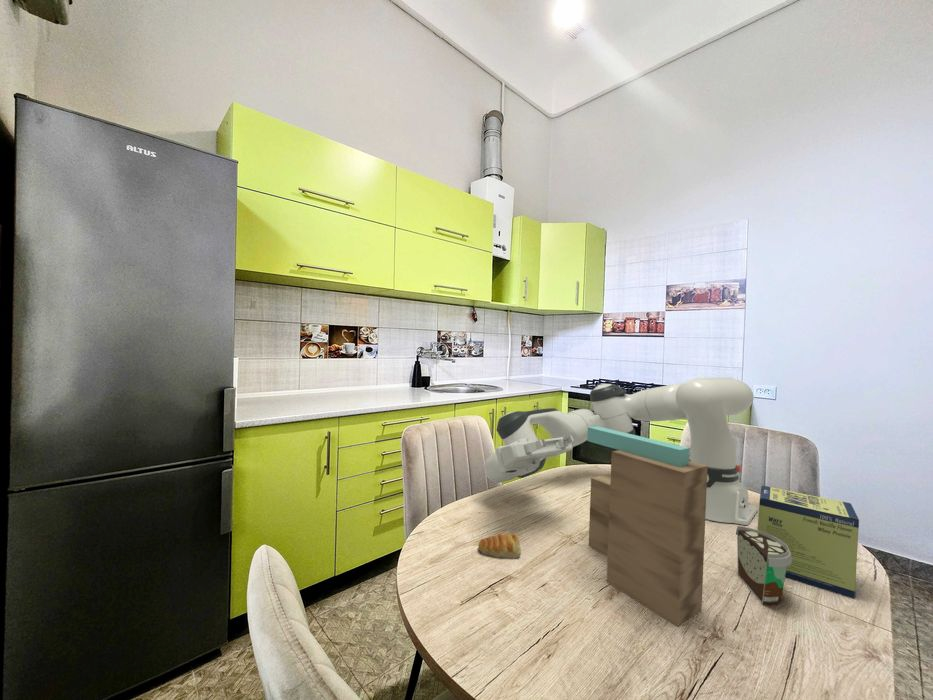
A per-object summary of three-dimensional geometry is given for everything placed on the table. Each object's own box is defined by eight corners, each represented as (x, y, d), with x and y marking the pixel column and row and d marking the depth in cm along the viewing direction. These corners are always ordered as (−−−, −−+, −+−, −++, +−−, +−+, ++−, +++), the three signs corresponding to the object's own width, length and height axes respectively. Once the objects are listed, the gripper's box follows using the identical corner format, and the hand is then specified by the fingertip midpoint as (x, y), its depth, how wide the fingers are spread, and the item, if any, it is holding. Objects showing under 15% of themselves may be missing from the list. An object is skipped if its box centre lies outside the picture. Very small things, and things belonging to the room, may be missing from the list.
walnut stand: (615, 535, 95) (619, 431, 95) (727, 591, 74) (733, 458, 74) (564, 555, 85) (568, 439, 85) (677, 626, 64) (683, 472, 64)
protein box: (857, 600, 73) (861, 519, 73) (755, 568, 83) (758, 496, 83) (848, 575, 81) (852, 502, 81) (756, 549, 91) (759, 484, 91)
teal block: (596, 439, 86) (596, 426, 86) (688, 464, 69) (689, 448, 69) (587, 441, 84) (587, 427, 84) (679, 467, 67) (680, 450, 67)
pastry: (479, 560, 83) (480, 542, 83) (476, 544, 90) (477, 527, 89) (522, 560, 83) (523, 542, 83) (516, 544, 90) (516, 527, 90)
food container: (806, 616, 68) (809, 560, 68) (767, 610, 69) (769, 555, 69) (767, 575, 80) (769, 528, 80) (734, 571, 81) (736, 524, 81)
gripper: (555, 462, 107) (590, 448, 97) (496, 473, 96) (530, 459, 86) (547, 440, 110) (581, 424, 100) (490, 449, 99) (521, 432, 89)
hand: (557, 440), depth 93 cm, fingers open, 8 cm apart
